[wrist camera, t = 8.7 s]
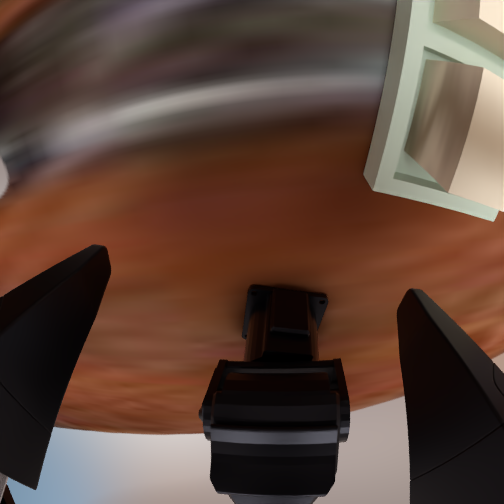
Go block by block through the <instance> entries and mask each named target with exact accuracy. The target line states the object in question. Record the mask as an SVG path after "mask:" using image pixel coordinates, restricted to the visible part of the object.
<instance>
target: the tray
mask: <svg viewBox="0 0 504 504" xmlns="http://www.w3.org/2000/svg"><path fill="white" fill-rule="evenodd" d="M426 59H429V60H439V61H447V62H454V63H461V64H467V65H473V66H479V67H484V68H486V69H487V70H489V71H491V72H492V73H494V74H496V75H497V76H499V77H501V78H502V79H504V0H397V6H396V14H395V22H394V29H393V36H392V42H391V48H390V54H389V60H388V66H387V71H386V77H385V82H384V87H383V92H382V97H381V102H380V106H379V111H378V116H377V120H376V124H375V129H374V133H373V137H372V141H371V146H370V150H369V154H368V158H367V161H366V165H365V169H364V173H363V175H364V177H365V179H366V180H367V182H368V184H369V185H370V187H371V189H372V190H373V191H376V192H381V193H386V194H390V195H395V196H399V197H404V198H408V199H412V200H416V201H420V202H424V203H428V204H432V205H436V206H440V207H444V208H448V209H451V210H455V211H459V212H462V213H466V214H469V215H473V216H476V217H480V218H483V219H486V220H490V221H493V222H494V220H495V218H496V216H497V213H498V211H499V210H497V209H494V208H492V207H489V206H486V205H483V204H480V203H478V202H475V201H472V200H469V199H466V198H463V197H460V196H457V195H453V194H450V193H448V192H447V191H446V190H445V189H444V188H443V187H442V186H441V185H440V184H439V183H438V182H437V181H436V180H435V179H434V178H433V177H432V176H431V175H430V174H429V173H428V172H427V171H426V170H425V169H424V168H422V167H421V166H420V165H419V164H418V163H417V162H416V161H415V160H414V159H413V158H412V157H411V156H409V155H408V154H407V153H406V152H405V151H404V148H405V145H406V141H407V138H408V134H409V131H410V127H411V123H412V119H413V115H414V111H415V107H416V103H417V99H418V95H419V90H420V86H421V81H422V77H423V72H424V67H425V62H426Z"/></svg>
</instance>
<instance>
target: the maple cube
mask: <svg viewBox="0 0 504 504" xmlns="http://www.w3.org/2000/svg"><path fill="white" fill-rule="evenodd" d="M404 151H405V152H406V153H407V154H408V155H409V156H411V157H412V158H413V159H414V160H415V161H416V162H417V163H418V164H419V165H420V166H421V167H422V168H424V169H425V170H426V171H427V172H428V173H429V174H430V175H431V176H432V177H433V178H434V179H435V180H436V181H437V182H438V183H439V184H440V185H441V186H442V187H443V188H444V189H445V190H446V191H447V192H448V193H450V194H453V195H457V196H460V197H463V198H466V199H469V200H472V201H475V202H478V203H480V204H483V205H486V206H489V207H492V208H494V209H497V210H500V211H503V212H504V79H502V78H501V77H499V76H497V75H496V74H494V73H492V72H491V71H489V70H487V69H486V68H484V67H479V66H473V65H467V64H461V63H454V62H447V61H439V60H429V59H426V62H425V67H424V72H423V77H422V81H421V86H420V90H419V95H418V99H417V103H416V107H415V111H414V115H413V119H412V123H411V127H410V131H409V134H408V138H407V141H406V145H405V148H404Z"/></svg>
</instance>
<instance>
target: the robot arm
mask: <svg viewBox="0 0 504 504" xmlns="http://www.w3.org/2000/svg"><path fill="white" fill-rule="evenodd" d="M110 275H111V265H110V260H109V255H108V250H107V248H106V247H105V246H102V245H96V244H94V245H91V246H89V247H87V248H86V249H84V250H82V251H80V252H78V253H76V254H74V255H72V256H71V257H69V258H67V259H65V260H63V261H61V262H60V263H58V264H56V265H54V266H52V267H51V268H49V269H47V270H45V271H44V272H42V273H40V274H38V275H37V276H35V277H33V278H32V279H30V280H28V281H26V282H25V283H23V284H21V285H20V286H18V287H16V288H15V289H13V290H11V291H10V292H8V293H7V294H5V295H4V296H2V297H0V504H15V502H14V500H13V498H12V495H11V493H10V490H9V488H8V485H7V484H6V483H7V480H8V477H9V478H11V479H13V480H15V481H17V482H19V483H21V484H23V485H25V486H28V487H30V488H32V489H34V490H36V489H37V486H38V482H39V477H40V473H41V469H42V466H43V461H44V458H45V454H46V451H47V447H48V444H49V441H50V437H51V433H52V430H53V427H54V424H55V421H56V418H57V415H58V412H59V409H60V406H61V403H62V400H63V397H64V394H65V392H66V389H67V386H68V383H69V381H70V378H71V375H72V373H73V370H74V368H75V365H76V363H77V360H78V358H79V355H80V353H81V350H82V348H83V346H84V343H85V341H86V339H87V336H88V334H89V332H90V329H91V327H92V325H93V322H94V320H95V318H96V315H97V312H98V310H99V307H100V304H101V301H102V298H103V295H104V292H105V289H106V286H107V283H108V281H109V278H110ZM252 291H256V292H252ZM320 300H323V301H320ZM327 304H328V297H327V296H326V295H324V294H318V293H309V292H301V291H294V290H286V289H278V288H271V287H263V286H256V285H253V286H250V287H249V289H248V296H247V303H246V310H245V318H244V325H243V332H242V337H243V338H244V339H246V347H245V355H244V361H228V360H221V359H220V360H219V363H218V366H217V368H215V371H214V373H213V376H212V379H211V381H210V384H209V387H208V390H207V392H206V395H205V398H204V400H203V403H202V407H201V408H200V410H199V418H200V419H201V420H202V421H203V429H204V434H205V437H206V439H207V440H210V441H211V470H210V480H211V482H212V484H213V486H214V488H215V490H216V492H217V493H219V494H228V495H229V497H230V498H231V499H232V501H233V502H234V503H235V504H313V502H314V501H315V500H316V499H317V498H318V497H323V496H326V495H327V494H328V492H329V490H330V489H331V487H332V486H333V484H334V482H335V474H336V472H337V462H338V449H339V442H346V441H347V438H348V434H349V427H350V403H349V396H348V390H347V386H346V381H345V376H344V371H343V367H342V362H341V358H338V359H333V360H323V361H319V352H318V337H317V330H318V328H319V325H320V323H321V320H322V317H323V315H324V312H325V310H326V307H327ZM397 324H398V338H399V354H400V364H401V371H402V378H403V386H404V394H405V403H406V412H407V413H406V414H407V425H408V439H409V457H410V480H411V481H410V504H504V373H503V372H502V371H501V370H500V369H499V368H498V366H497V365H496V364H495V363H493V361H492V360H491V359H490V358H489V357H488V356H487V355H486V353H485V352H484V351H483V350H482V349H481V348H480V347H479V346H478V345H477V344H476V343H475V342H474V341H473V340H472V339H471V338H470V337H469V336H468V335H467V334H466V333H465V332H464V331H463V330H462V329H461V328H460V327H459V326H458V325H457V324H456V323H455V322H454V321H453V320H452V319H451V318H450V317H449V316H448V315H447V314H446V313H445V312H444V311H443V310H442V309H441V308H440V307H439V306H438V305H437V304H436V303H435V302H434V301H433V300H432V299H431V298H430V297H429V296H428V295H427V294H425V293H424V292H423V291H422V290H420V289H413V288H411V289H409V290H408V291H407V292H406V294H405V296H404V298H403V299H402V301H401V303H400V305H399V307H398V310H397Z"/></svg>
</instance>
